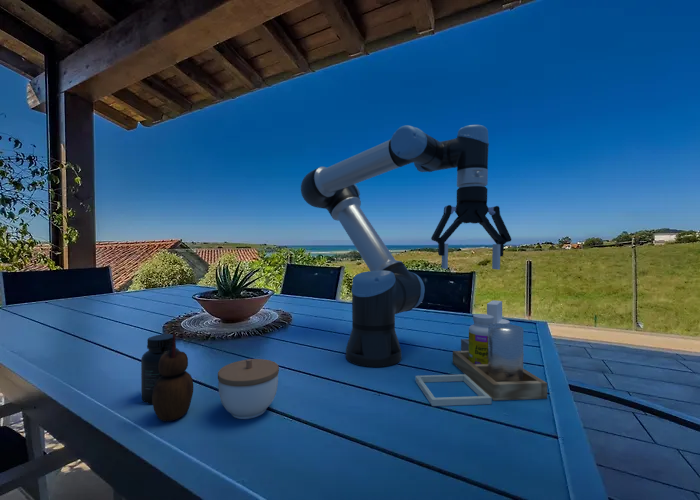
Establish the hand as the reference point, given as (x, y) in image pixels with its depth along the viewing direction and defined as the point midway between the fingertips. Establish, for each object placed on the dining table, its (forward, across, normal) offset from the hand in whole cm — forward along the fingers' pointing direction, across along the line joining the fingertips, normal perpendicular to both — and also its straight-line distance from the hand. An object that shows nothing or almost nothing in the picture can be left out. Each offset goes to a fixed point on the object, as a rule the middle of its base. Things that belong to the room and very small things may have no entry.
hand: (470, 268), depth 84 cm
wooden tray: (+24, +2, -11) cm, 27 cm away
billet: (+24, +2, -16) cm, 29 cm away
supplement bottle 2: (+24, +1, -6) cm, 25 cm away
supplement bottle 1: (+26, -70, -18) cm, 76 cm away
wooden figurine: (+25, -63, -26) cm, 73 cm away
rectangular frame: (+24, -11, -17) cm, 32 cm away
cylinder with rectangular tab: (+25, +18, +22) cm, 38 cm away
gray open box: (+24, +4, +4) cm, 25 cm away
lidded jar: (+25, -50, -24) cm, 61 cm away
